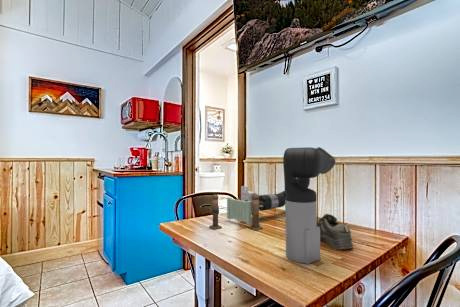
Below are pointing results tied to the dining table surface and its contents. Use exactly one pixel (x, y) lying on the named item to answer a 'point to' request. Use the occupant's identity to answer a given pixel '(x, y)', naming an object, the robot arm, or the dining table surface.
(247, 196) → the ink box
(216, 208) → the post
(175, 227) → the dining table surface
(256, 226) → the hinge post
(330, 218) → the hiking shoe
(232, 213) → the gate
